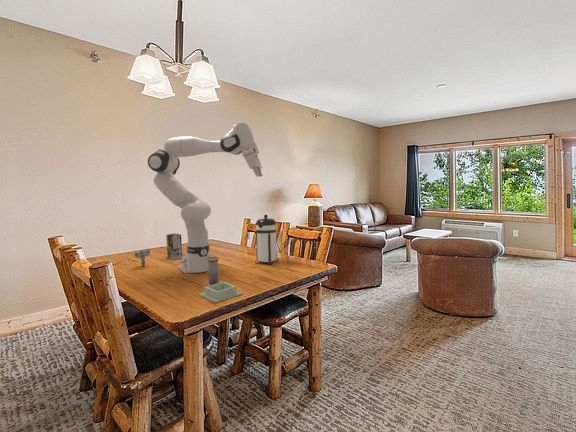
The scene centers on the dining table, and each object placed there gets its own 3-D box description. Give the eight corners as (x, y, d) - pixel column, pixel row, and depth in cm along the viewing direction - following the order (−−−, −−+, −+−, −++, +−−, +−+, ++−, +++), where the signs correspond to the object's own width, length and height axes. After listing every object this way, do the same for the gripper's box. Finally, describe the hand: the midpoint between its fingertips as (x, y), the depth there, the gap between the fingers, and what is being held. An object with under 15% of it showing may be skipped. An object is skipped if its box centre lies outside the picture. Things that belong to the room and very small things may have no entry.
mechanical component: (134, 268, 183) (133, 252, 182) (148, 264, 192) (147, 248, 191) (138, 269, 182) (137, 252, 180) (152, 264, 191) (151, 249, 190)
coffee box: (182, 258, 207) (181, 234, 205) (173, 260, 202) (172, 235, 201) (176, 256, 213) (175, 233, 212) (167, 257, 209) (165, 234, 207)
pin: (206, 286, 149) (205, 258, 148) (215, 283, 153) (214, 256, 152) (212, 288, 146) (210, 259, 144) (221, 286, 149) (220, 257, 148)
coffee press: (283, 264, 188) (282, 215, 185) (257, 266, 184) (256, 216, 181) (276, 257, 205) (275, 212, 202) (252, 259, 200) (250, 213, 197)
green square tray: (198, 294, 138) (198, 287, 138) (225, 287, 148) (224, 279, 148) (215, 303, 128) (215, 294, 128) (242, 294, 138) (242, 286, 138)
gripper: (248, 155, 178) (257, 178, 179) (240, 152, 158) (250, 178, 159) (259, 151, 177) (267, 174, 179) (252, 148, 157) (262, 174, 158)
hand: (259, 176), depth 169 cm, fingers open, 8 cm apart
